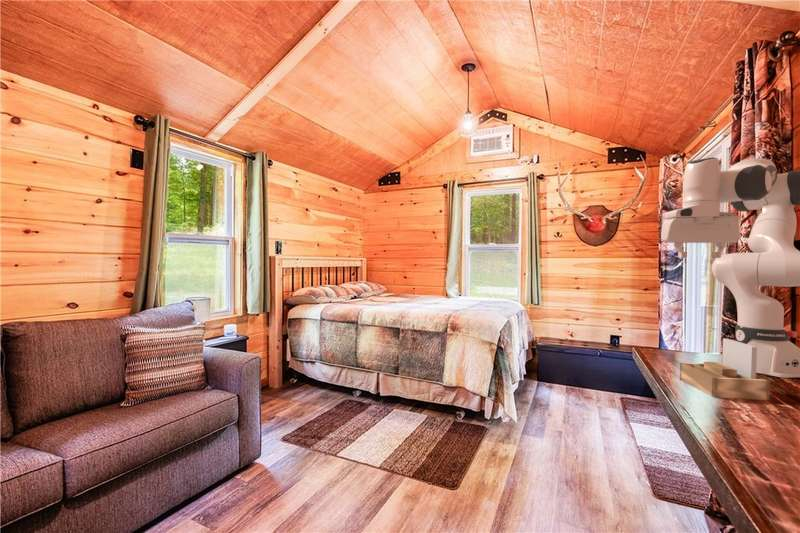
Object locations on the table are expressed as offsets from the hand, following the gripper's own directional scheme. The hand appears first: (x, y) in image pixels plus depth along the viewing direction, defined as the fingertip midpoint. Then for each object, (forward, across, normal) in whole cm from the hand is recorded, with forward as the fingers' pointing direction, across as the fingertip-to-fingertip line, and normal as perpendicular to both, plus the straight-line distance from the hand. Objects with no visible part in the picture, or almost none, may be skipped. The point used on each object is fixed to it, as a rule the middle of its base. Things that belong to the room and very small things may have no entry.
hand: (699, 257), depth 112 cm
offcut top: (+32, +1, +11) cm, 34 cm away
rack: (+37, 0, +11) cm, 39 cm away
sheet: (+36, -3, +12) cm, 38 cm away
